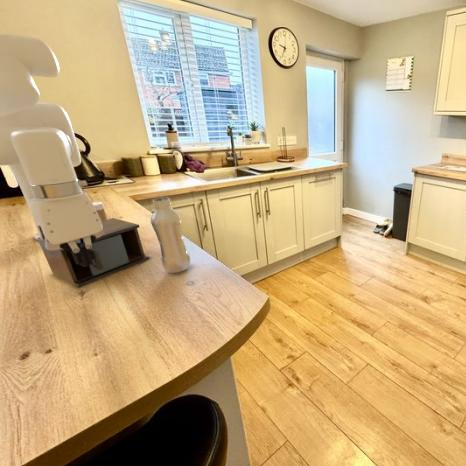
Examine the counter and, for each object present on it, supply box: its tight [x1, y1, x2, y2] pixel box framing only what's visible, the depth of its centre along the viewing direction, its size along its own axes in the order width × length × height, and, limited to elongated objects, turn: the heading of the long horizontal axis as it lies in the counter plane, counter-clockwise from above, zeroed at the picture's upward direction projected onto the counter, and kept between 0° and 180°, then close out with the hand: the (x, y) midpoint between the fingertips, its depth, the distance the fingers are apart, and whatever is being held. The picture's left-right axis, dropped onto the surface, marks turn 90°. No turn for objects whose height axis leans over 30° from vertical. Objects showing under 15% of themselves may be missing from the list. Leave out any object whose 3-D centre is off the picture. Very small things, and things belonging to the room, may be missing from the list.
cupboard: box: [37, 217, 150, 288], centre depth 78 cm, size 13×17×11 cm
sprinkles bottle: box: [91, 201, 108, 221], centre depth 92 cm, size 5×5×13 cm
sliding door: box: [89, 234, 129, 276], centre depth 75 cm, size 4×8×8 cm, turn 154°
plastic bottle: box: [150, 196, 191, 274], centre depth 75 cm, size 6×7×20 cm
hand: (86, 264), depth 69 cm, fingers closed
